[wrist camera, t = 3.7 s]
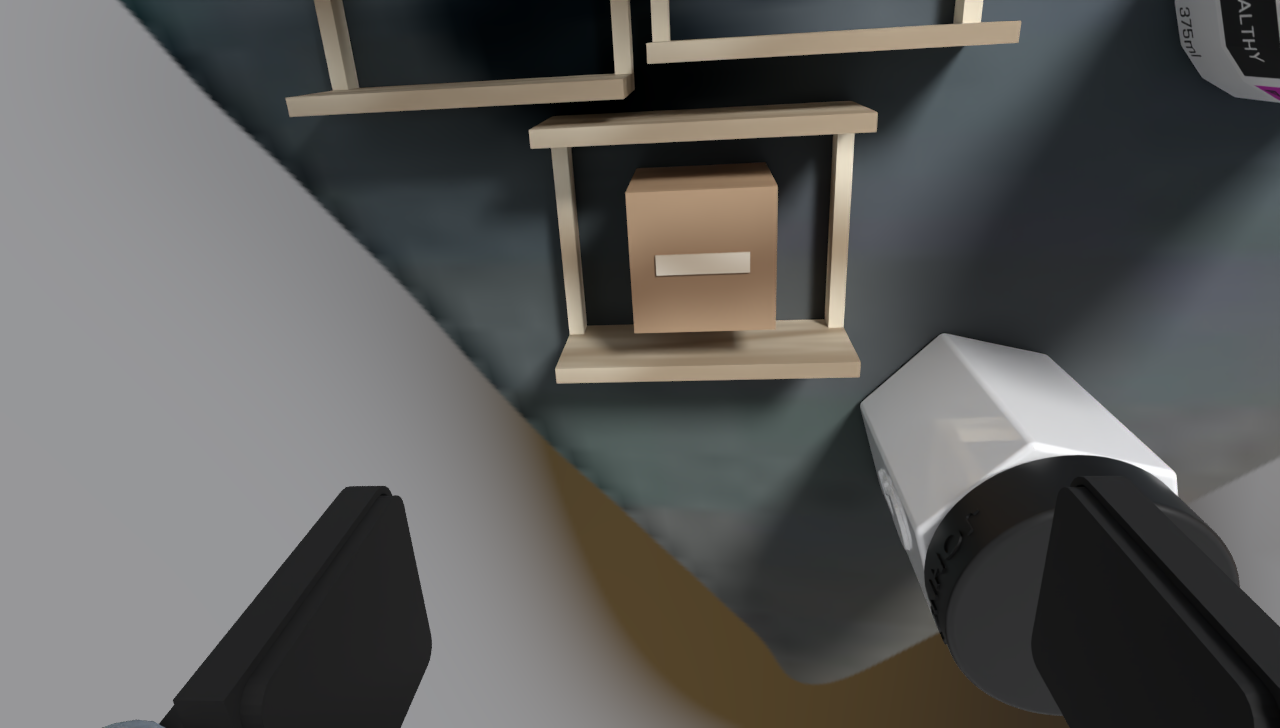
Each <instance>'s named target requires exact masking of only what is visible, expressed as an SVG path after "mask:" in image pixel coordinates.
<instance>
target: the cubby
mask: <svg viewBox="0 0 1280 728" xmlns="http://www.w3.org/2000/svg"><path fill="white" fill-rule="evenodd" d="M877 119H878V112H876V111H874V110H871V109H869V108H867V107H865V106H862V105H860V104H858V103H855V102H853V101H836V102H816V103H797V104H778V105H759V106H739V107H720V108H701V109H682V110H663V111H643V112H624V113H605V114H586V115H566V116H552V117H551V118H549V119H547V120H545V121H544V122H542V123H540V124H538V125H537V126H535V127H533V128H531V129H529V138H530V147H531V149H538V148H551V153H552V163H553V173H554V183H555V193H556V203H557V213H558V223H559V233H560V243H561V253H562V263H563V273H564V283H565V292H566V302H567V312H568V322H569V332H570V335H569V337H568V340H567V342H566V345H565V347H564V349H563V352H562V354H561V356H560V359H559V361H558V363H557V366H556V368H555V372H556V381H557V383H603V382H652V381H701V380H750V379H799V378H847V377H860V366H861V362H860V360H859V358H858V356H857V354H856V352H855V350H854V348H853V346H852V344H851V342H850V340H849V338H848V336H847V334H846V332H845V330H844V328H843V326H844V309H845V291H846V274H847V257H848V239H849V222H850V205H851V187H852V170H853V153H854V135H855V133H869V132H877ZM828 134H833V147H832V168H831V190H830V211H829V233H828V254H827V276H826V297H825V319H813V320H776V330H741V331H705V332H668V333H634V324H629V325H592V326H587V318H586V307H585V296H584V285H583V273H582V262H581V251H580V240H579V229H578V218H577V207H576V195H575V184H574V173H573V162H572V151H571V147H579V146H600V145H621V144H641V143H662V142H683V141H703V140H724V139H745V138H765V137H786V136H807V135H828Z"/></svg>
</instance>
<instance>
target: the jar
mask: <svg viewBox="0 0 1280 728" xmlns="http://www.w3.org/2000/svg"><path fill="white" fill-rule="evenodd" d="M860 409H861V413H862V417H863V421H864V425H865V428H866V432H867V436H868V440H869V444H870V448H871V452H872V456H873V460H874V464H875V468H876V472H877V476H878V480H879V483H880V487H881V490H882V492H883V495H884V497H885V499H886V502H887V504H888V507H889V509H890V512H891V514H892V517H893V521H894V524H895V526H896V529H897V532H898V535H899V538H900V540H901V543H902V545H903V547H904V549H906V552H907V554H908V556H909V559H910V561H911V564H912V566H913V569H914V571H915V574H916V576H917V579H918V581H919V584H920V586H921V589H922V591H923V594H924V596H925V599H926V601H927V604H928V606H929V609H930V611H931V614H932V616H933V618H934V621H935V623H936V626H937V628H938V631H939V633H940V634H941V637H942V639H943V641H944V643H945V644H947V645H948V648H949V650H950V653H951V655H952V656H953V659H954V661H955V662H956V664H957V665H958V667H959V668H960V670H961V671H962V672H963V673H964V675H966V677H967V678H968V679H969V680H970V681H971V682H972V683H973V684H974V685H976V686H977V687H978V688H979V689H981V690H982V691H984V692H985V693H987V694H988V695H990V696H991V697H993V698H995V699H997V700H999V701H1001V702H1004V703H1006V704H1008V705H1011V706H1013V707H1016V708H1019V709H1023V710H1026V711H1031V712H1035V713H1040V714H1048V715H1059V716H1063V714H1062V713H1061V711H1060V709H1059V707H1058V705H1057V704H1056V702H1055V700H1054V698H1053V697H1052V695H1051V693H1050V691H1049V689H1048V688H1047V686H1046V684H1045V682H1044V680H1043V679H1042V677H1041V675H1040V673H1039V671H1038V670H1037V667H1036V665H1035V663H1034V660H1033V656H1032V650H1031V638H1032V632H1033V626H1034V621H1035V615H1036V610H1037V604H1038V599H1039V593H1040V588H1041V582H1042V577H1043V571H1044V566H1045V560H1046V555H1047V549H1048V544H1049V538H1050V533H1051V527H1052V522H1053V516H1054V511H1055V505H1056V500H1057V496H1058V492H1059V491H1060V489H1061V488H1063V487H1070V485H1071V483H1072V481H1073V480H1074V479H1075V478H1076V477H1078V476H1124V477H1126V478H1127V479H1129V480H1130V481H1131V482H1132V483H1133V484H1134V485H1135V486H1136V487H1137V488H1138V489H1139V490H1140V491H1141V492H1142V493H1143V494H1144V495H1145V496H1147V497H1148V498H1149V499H1150V500H1151V501H1152V502H1153V503H1154V504H1155V505H1156V506H1157V507H1158V508H1159V509H1160V510H1161V511H1162V512H1163V513H1164V514H1165V515H1166V516H1167V517H1168V518H1169V519H1170V520H1171V521H1172V522H1173V523H1174V524H1175V525H1176V526H1177V527H1178V528H1179V529H1180V530H1181V531H1182V532H1183V533H1184V534H1185V535H1186V536H1187V537H1188V538H1189V539H1190V540H1191V541H1192V542H1193V543H1195V544H1196V545H1197V546H1198V547H1199V548H1200V549H1201V550H1202V551H1203V552H1204V553H1205V554H1206V555H1207V556H1208V557H1209V558H1210V559H1211V560H1212V561H1213V562H1214V563H1215V564H1216V565H1217V566H1218V567H1219V568H1220V569H1221V570H1222V571H1223V572H1224V573H1225V574H1226V575H1227V576H1228V577H1229V578H1230V579H1231V580H1232V581H1233V582H1234V583H1235V584H1236V585H1237V586H1238V587H1239V588H1240V585H1239V577H1238V576H1239V575H1238V571H1237V568H1236V564H1235V562H1234V560H1233V557H1232V555H1231V553H1230V551H1229V550H1228V548H1227V547H1226V545H1225V544H1224V542H1223V541H1222V540H1221V538H1220V537H1219V536H1218V535H1217V534H1216V533H1215V532H1214V531H1213V530H1212V529H1211V528H1210V527H1209V526H1208V525H1207V524H1206V523H1205V522H1204V521H1203V520H1202V519H1201V518H1200V517H1199V516H1198V515H1197V514H1196V513H1195V512H1194V511H1193V510H1192V509H1190V508H1189V507H1188V506H1187V505H1186V504H1185V503H1184V502H1183V501H1182V500H1181V499H1180V498H1179V497H1178V487H1177V476H1176V473H1175V472H1174V471H1173V470H1172V469H1171V468H1170V467H1169V466H1168V465H1167V464H1166V463H1165V462H1163V461H1162V460H1161V459H1160V458H1159V457H1158V456H1157V455H1156V454H1155V453H1154V452H1153V451H1151V450H1150V449H1149V448H1148V447H1147V446H1146V445H1145V444H1144V443H1143V442H1142V441H1141V440H1139V439H1138V438H1137V437H1136V436H1135V435H1134V434H1133V433H1132V432H1131V431H1130V430H1129V429H1127V428H1126V427H1125V426H1124V425H1123V424H1122V423H1121V422H1120V421H1119V420H1118V419H1117V418H1115V417H1114V416H1113V415H1112V414H1111V413H1110V412H1109V411H1108V410H1107V409H1106V408H1105V407H1103V406H1102V405H1101V404H1100V403H1099V402H1098V401H1097V400H1096V399H1095V398H1094V397H1093V396H1091V395H1090V394H1089V393H1088V392H1087V391H1086V390H1085V389H1084V388H1083V387H1082V386H1081V385H1079V384H1078V383H1077V382H1076V381H1075V380H1074V379H1073V378H1072V377H1071V376H1070V375H1069V374H1067V373H1066V372H1065V371H1064V370H1063V369H1062V368H1061V367H1060V366H1059V365H1058V364H1057V363H1055V362H1054V361H1053V360H1052V359H1051V358H1050V357H1049V356H1048V355H1046V354H1042V353H1037V352H1032V351H1028V350H1023V349H1018V348H1013V347H1009V346H1004V345H999V344H994V343H989V342H985V341H980V340H975V339H970V338H966V337H961V336H956V335H951V334H946V333H943V334H940V335H939V336H937V337H936V338H935V339H934V340H933V341H932V342H931V343H929V344H928V345H927V346H926V347H925V348H924V349H922V350H921V351H920V352H919V353H918V354H917V355H915V356H914V357H913V358H912V359H911V360H910V361H908V362H907V363H906V364H905V365H904V366H903V367H901V368H900V369H899V370H898V371H897V372H896V373H895V374H893V375H892V376H891V377H890V378H889V379H888V380H886V381H885V382H884V383H883V384H882V385H881V386H879V387H878V388H877V389H876V390H875V391H874V392H872V393H871V394H870V395H869V396H868V397H867V398H866V399H864V400H863V401H862V402H861V404H860Z"/></svg>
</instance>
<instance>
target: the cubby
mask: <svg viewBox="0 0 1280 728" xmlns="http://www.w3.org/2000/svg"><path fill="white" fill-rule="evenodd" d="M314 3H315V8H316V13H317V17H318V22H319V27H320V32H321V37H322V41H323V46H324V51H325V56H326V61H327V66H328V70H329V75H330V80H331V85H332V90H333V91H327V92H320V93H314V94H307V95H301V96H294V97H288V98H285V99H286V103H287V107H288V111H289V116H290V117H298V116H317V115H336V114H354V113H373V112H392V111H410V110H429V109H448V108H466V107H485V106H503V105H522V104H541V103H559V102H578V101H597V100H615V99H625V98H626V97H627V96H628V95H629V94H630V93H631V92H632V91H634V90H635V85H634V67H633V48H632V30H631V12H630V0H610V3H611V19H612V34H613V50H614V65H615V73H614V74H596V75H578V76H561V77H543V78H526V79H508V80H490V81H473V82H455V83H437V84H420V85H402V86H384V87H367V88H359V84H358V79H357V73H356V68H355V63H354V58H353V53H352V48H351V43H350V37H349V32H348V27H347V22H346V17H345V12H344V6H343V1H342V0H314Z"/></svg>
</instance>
